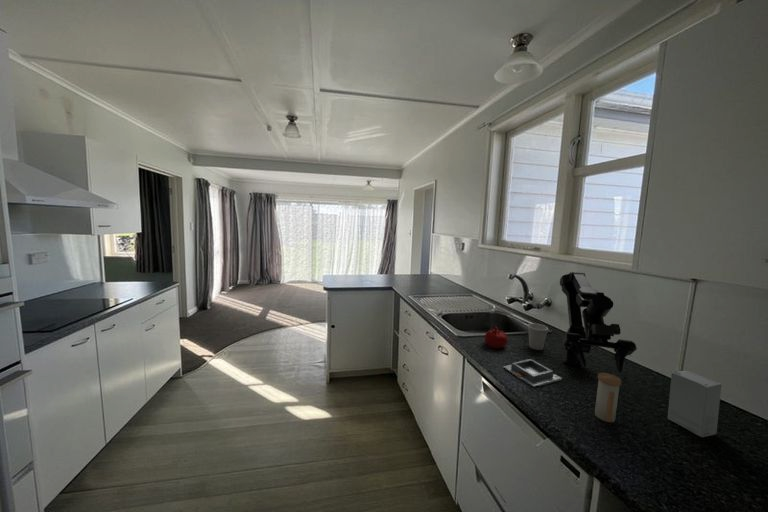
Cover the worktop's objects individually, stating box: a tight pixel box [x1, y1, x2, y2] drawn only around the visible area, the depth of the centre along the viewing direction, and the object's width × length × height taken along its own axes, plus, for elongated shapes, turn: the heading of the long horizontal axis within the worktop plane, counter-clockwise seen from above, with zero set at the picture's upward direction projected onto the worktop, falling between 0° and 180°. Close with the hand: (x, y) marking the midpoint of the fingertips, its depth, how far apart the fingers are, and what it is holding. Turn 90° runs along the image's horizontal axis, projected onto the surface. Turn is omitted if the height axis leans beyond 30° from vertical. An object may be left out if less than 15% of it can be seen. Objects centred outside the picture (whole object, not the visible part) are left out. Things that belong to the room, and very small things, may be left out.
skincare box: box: [667, 370, 722, 438], centre depth 81 cm, size 8×6×15 cm
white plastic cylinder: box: [594, 372, 622, 423], centre depth 84 cm, size 6×5×12 cm
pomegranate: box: [484, 326, 509, 349], centre depth 131 cm, size 10×10×9 cm
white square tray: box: [502, 358, 563, 388], centre depth 108 cm, size 14×14×3 cm
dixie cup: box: [527, 322, 549, 351], centre depth 130 cm, size 8×8×10 cm
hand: (602, 369), depth 89 cm, fingers open, 9 cm apart
